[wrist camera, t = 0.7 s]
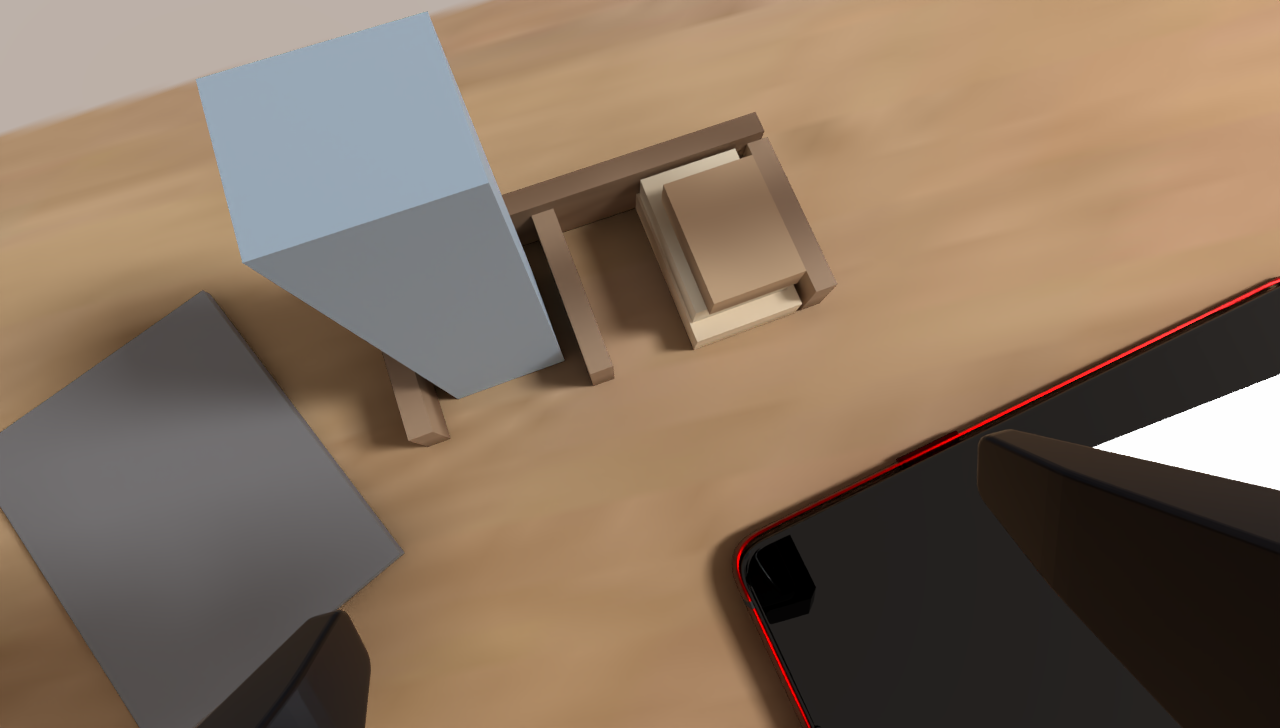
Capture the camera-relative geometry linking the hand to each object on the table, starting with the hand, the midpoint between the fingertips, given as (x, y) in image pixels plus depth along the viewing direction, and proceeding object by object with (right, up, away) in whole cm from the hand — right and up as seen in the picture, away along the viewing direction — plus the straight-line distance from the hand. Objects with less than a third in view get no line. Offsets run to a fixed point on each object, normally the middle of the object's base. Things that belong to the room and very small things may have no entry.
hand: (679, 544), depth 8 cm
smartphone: (+16, -4, +13) cm, 21 cm away
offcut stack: (+2, +6, +15) cm, 16 cm away
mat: (-16, -2, +12) cm, 20 cm away
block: (-6, +3, +14) cm, 15 cm away
